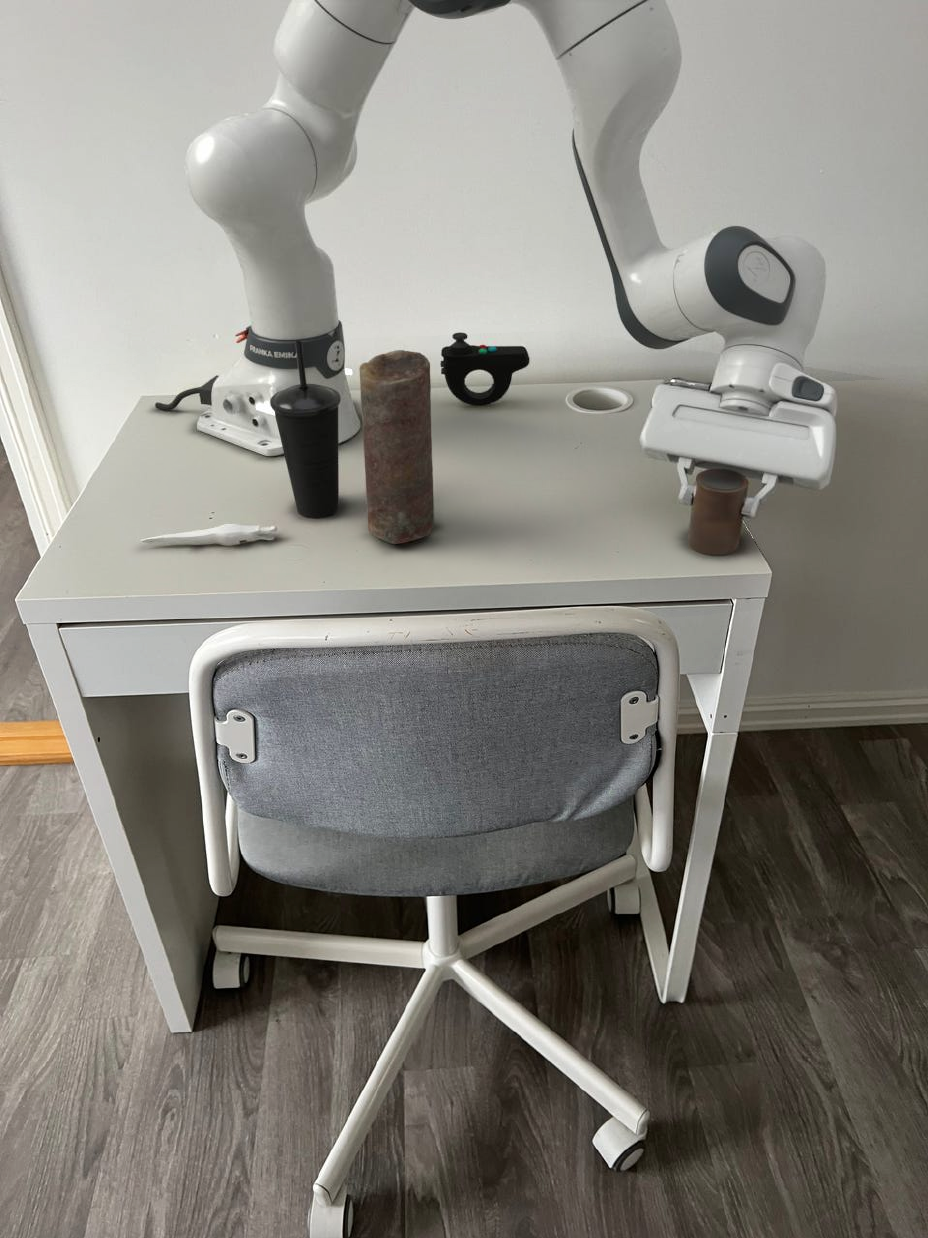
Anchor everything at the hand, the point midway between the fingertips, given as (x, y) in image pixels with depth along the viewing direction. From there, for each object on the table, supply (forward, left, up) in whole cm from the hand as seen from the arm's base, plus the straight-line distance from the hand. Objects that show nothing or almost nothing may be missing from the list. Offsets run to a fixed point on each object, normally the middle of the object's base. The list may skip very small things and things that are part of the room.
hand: (716, 510), depth 103 cm
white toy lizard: (-50, -23, -5) cm, 55 cm away
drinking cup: (-44, -11, -5) cm, 45 cm away
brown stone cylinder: (-32, -12, -5) cm, 34 cm away
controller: (-40, +25, -5) cm, 47 cm away
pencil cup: (0, +1, -4) cm, 4 cm away
